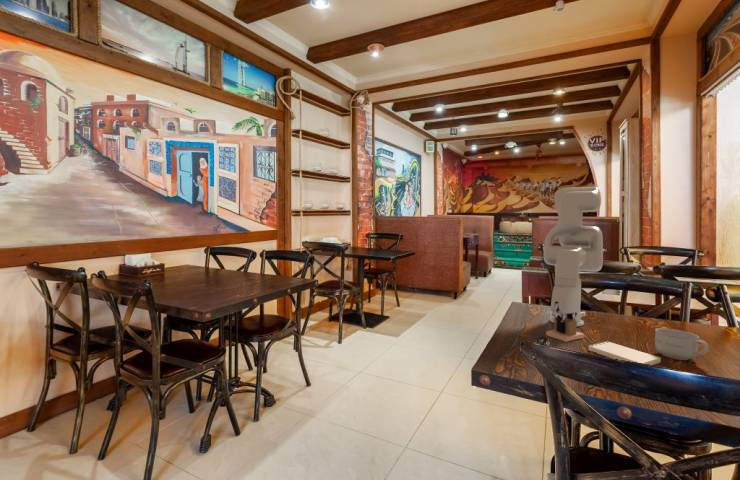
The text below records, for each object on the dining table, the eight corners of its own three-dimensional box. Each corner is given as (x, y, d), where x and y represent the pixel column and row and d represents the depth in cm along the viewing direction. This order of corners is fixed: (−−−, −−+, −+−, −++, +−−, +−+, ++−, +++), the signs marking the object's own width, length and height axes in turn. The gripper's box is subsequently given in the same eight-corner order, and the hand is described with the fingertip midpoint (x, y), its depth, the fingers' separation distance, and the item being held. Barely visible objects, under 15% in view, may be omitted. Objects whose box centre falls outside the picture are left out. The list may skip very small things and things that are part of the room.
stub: (564, 331, 140) (564, 315, 140) (584, 337, 133) (584, 320, 133) (546, 335, 136) (546, 318, 136) (565, 341, 129) (566, 324, 128)
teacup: (645, 351, 121) (646, 327, 120) (675, 349, 122) (676, 326, 121) (685, 368, 107) (686, 342, 106) (718, 367, 108) (720, 341, 107)
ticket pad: (607, 345, 126) (607, 340, 126) (660, 362, 111) (660, 357, 111) (588, 350, 121) (588, 345, 121) (641, 368, 107) (641, 363, 107)
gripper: (572, 278, 140) (570, 325, 141) (542, 282, 133) (540, 331, 134) (591, 282, 133) (589, 331, 135) (560, 286, 126) (558, 337, 127)
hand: (565, 330), depth 134 cm, fingers closed on stub, 4 cm apart
